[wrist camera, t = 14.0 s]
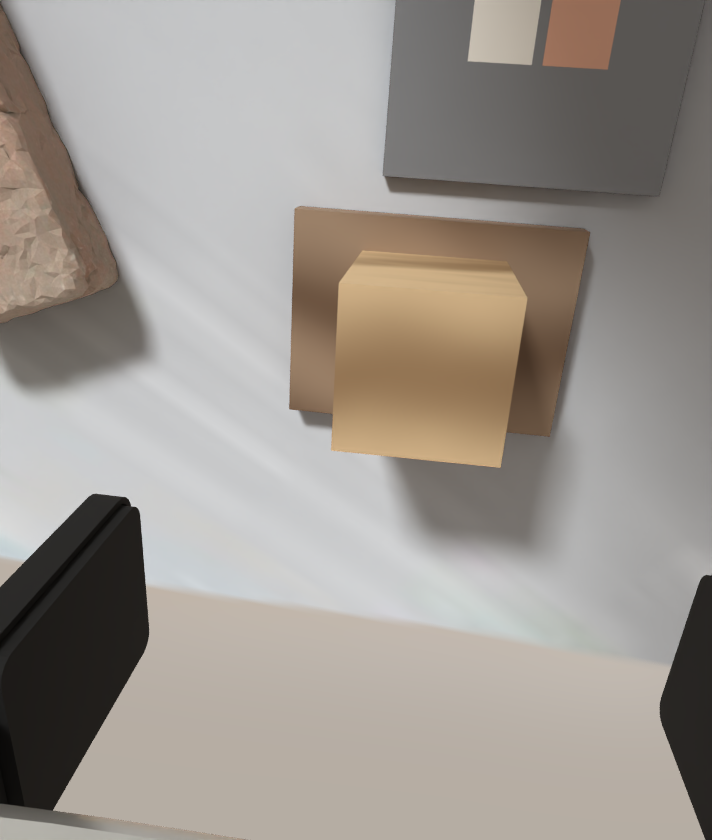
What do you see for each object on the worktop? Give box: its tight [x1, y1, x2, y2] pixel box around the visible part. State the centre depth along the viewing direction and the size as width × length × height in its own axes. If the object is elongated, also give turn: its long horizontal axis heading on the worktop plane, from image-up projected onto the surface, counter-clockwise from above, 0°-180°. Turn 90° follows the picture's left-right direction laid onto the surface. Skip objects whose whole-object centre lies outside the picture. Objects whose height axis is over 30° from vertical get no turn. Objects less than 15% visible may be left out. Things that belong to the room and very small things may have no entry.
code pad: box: [383, 0, 705, 196], centre depth 25 cm, size 11×11×1 cm
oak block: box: [331, 250, 527, 468], centre depth 25 cm, size 6×6×7 cm
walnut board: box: [289, 206, 590, 437], centre depth 29 cm, size 9×12×1 cm
